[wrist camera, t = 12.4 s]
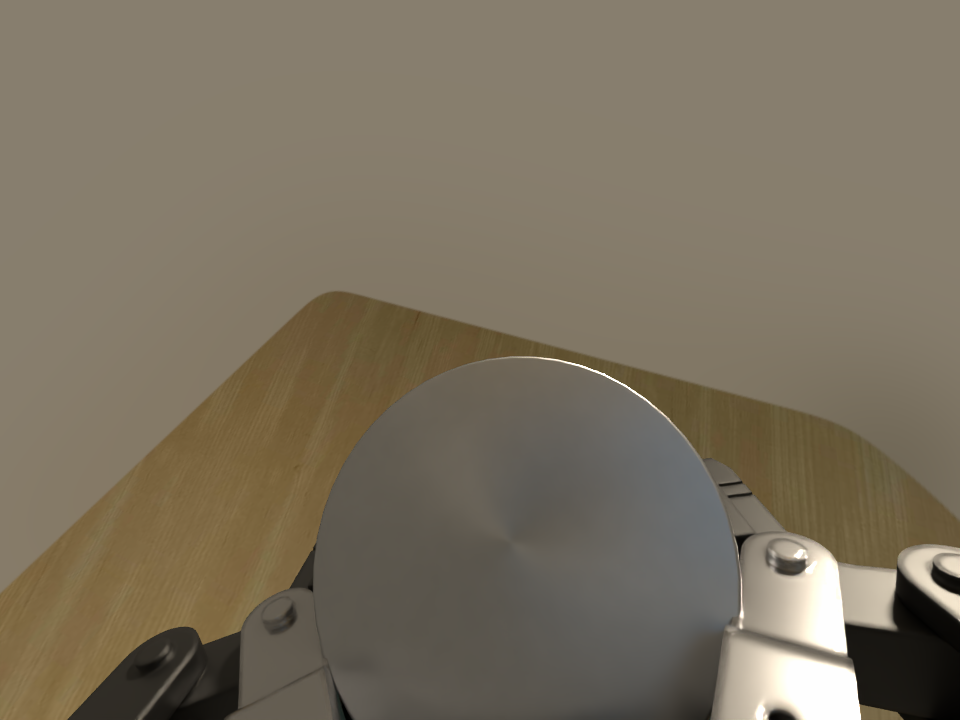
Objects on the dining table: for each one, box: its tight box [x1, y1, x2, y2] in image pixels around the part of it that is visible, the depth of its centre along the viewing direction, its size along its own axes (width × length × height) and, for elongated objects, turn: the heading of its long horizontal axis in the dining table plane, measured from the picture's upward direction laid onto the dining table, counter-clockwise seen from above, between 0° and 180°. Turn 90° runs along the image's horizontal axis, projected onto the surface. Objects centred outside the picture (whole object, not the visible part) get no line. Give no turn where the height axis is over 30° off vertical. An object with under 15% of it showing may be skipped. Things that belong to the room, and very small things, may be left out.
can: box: [313, 357, 742, 720], centre depth 12 cm, size 6×6×10 cm
